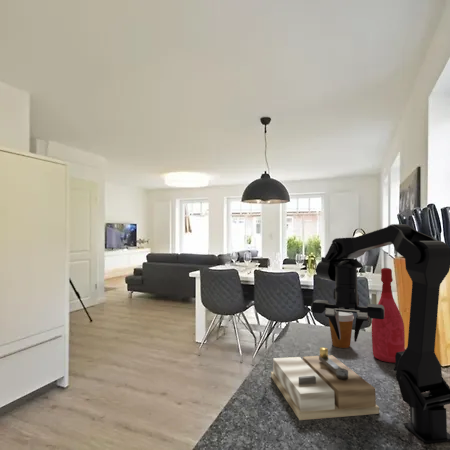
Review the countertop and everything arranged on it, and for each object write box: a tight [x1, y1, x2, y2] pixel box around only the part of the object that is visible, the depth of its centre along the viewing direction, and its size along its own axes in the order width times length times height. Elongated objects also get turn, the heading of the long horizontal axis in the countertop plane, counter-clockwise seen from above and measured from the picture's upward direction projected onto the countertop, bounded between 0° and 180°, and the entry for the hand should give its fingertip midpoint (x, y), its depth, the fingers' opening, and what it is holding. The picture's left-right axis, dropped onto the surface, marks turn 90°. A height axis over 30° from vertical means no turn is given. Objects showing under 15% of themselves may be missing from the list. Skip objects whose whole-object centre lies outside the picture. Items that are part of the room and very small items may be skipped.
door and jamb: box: [270, 354, 380, 421], centre depth 86 cm, size 23×19×7 cm
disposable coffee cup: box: [328, 311, 355, 349], centre depth 124 cm, size 10×10×12 cm
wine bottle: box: [371, 267, 406, 364], centre depth 111 cm, size 10×10×30 cm
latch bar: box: [318, 346, 348, 380], centre depth 87 cm, size 13×3×4 cm, turn 8°
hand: (347, 340), depth 92 cm, fingers open, 4 cm apart
